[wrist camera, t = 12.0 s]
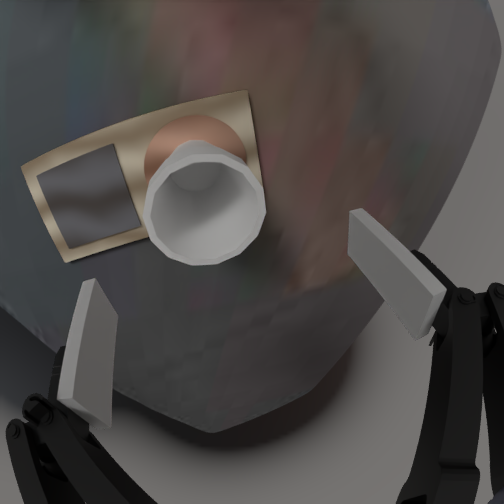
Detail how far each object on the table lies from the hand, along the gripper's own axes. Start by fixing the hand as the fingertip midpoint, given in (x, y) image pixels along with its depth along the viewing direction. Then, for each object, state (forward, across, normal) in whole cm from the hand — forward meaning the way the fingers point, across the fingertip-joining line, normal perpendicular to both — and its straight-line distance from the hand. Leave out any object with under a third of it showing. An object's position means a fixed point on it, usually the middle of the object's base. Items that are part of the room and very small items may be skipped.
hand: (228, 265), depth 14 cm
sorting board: (+23, -8, -2) cm, 24 cm away
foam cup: (+22, 0, -2) cm, 22 cm away
